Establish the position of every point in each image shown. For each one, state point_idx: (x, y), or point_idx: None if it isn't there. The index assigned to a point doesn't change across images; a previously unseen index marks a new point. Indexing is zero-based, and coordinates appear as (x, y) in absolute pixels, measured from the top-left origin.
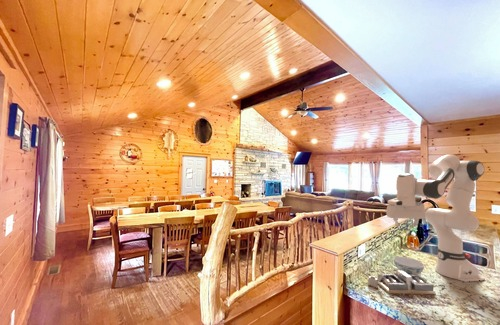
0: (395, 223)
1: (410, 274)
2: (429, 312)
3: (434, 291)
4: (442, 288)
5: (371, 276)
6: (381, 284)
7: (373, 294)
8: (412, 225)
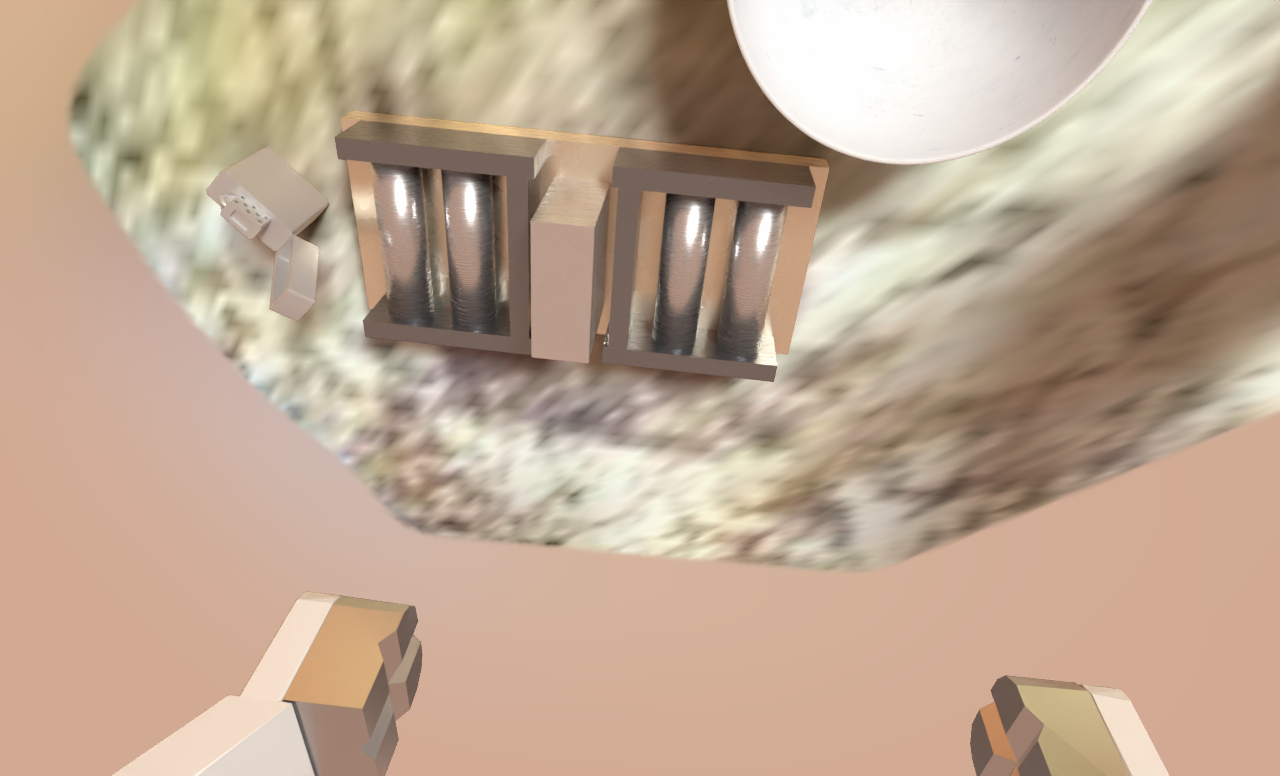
0: (267, 658)
1: (831, 55)
2: (533, 494)
3: (778, 351)
4: (963, 267)
5: (226, 212)
6: (357, 212)
7: (246, 305)
8: (1002, 702)
